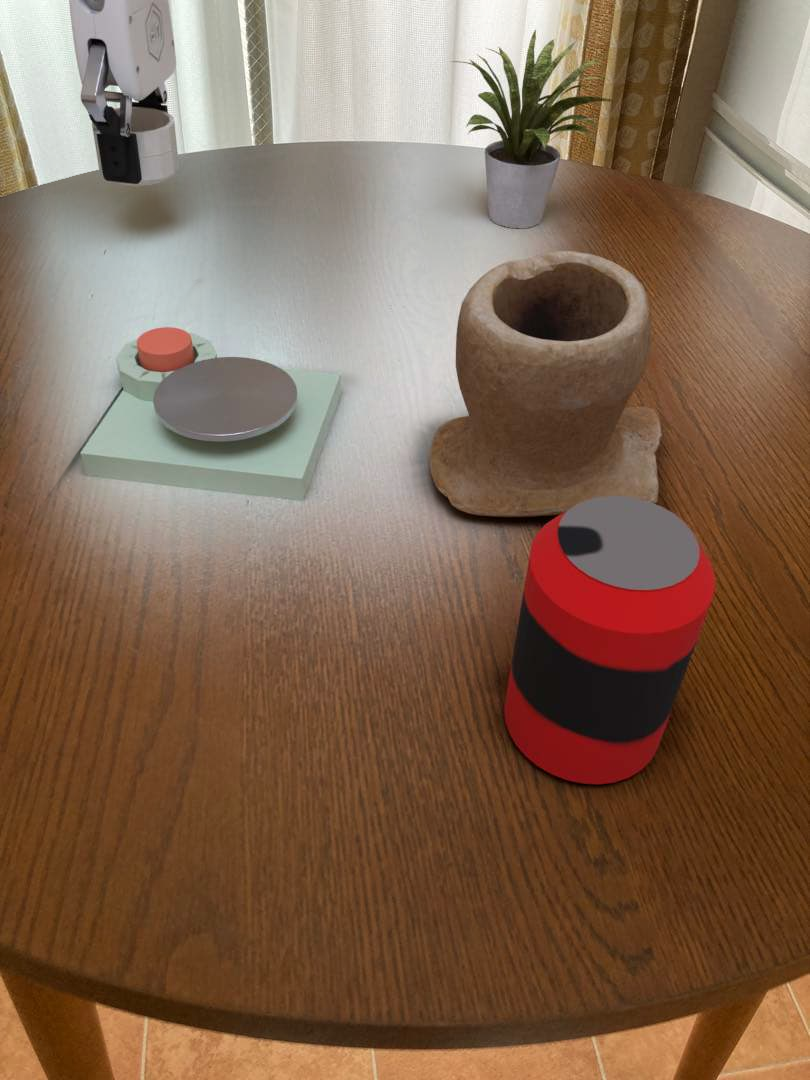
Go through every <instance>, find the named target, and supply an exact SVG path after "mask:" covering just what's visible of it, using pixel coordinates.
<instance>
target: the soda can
mask: <svg viewBox="0 0 810 1080" xmlns="http://www.w3.org/2000/svg"><path fill="white" fill-rule="evenodd" d="M524 582H525V583H524V585H523V586H524V589H523V593H522V599H521V604H520V611H519V617H518V624H517V629H516V635H515V641H514V646H513V653H512V659H511V664H510V670H509V676H508V682H507V687H506V688H507V689H506V695H505V700H504V705H503V711H504V722H505V725H506V728H507V731H508V734H509V735H510V737H511V740H512V741H513V743H514V745H515V747H517V748H518V749H519V751H520V752H521V753H522V754H523V755H524V756H525V758H527V759H528V760H529V761H530V762H532V763H533V764H534V765H535V766H537V767H538V768H540V769H542V770H543V771H545V772H547V773H548V774H550V775H553V776H555V777H557V778H561V779H562V780H566V781H570V782H573V783H579V784H583V785H584V784H585V785H604V784H612V783H613V784H614V783H617V782H620V781H623V780H626V779H629V778H631V777H632V776H635V775H636V774H637V773H639V772H642V770H643V769H644V768H645V767H647V765H648V764H650V762H651V761H652V760H653V758H654V756H655V755H656V753H657V751H658V749H659V746H660V743H661V741H662V739H663V735H664V734H665V733H664V732H665V730H666V727H667V724H668V721H669V719H670V716H671V713H672V710H673V707H674V705H675V702H676V699H677V697H678V694H679V692H680V688H681V686H682V683H683V681H684V678H685V676H686V672H687V669H688V667H689V664H690V661H691V658H692V655H693V653H694V650H695V647H696V645H697V642H698V639H699V637H700V634H701V631H702V629H703V625H704V623H705V620H706V617H707V614H708V612H709V609H710V606H711V603H712V602H713V598H714V594H715V591H716V574H715V572H714V569H713V565H712V562H711V561H710V559H709V557H708V556H707V554H706V553H705V550H704V549H703V547H702V546H701V545H700V544H699V542H698V539H697V537H696V535H695V533H694V532H693V530H692V529H691V528H690V527H689V525H688V524H687V523H686V522H685V521H684V520H683V519H681V518H680V517H679V516H678V515H676V514H675V513H674V512H672V511H670V510H668V509H667V508H666V507H663V506H661V505H659V504H657V503H655V504H654V503H652V502H649V501H645V500H642V499H638V498H632V497H626V496H602V497H596V498H592V499H587V500H585V501H583V502H580V503H578V504H576V505H575V506H573V507H572V508H570V509H569V510H568V511H566V512H565V513H563V514H559V515H556V517H554V518H553V519H551V520H549V521H548V522H546V523H545V524H544V525H543V526H542V528H541V529H539V531H538V532H536V534H535V537H534V538H533V540H532V543H531V546H530V551H529V558H528V563H527V569H526V573H525V581H524Z"/></svg>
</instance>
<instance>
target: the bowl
mask: <svg viewBox="0 0 810 1080" xmlns="http://www.w3.org/2000/svg"><path fill="white" fill-rule="evenodd" d="M114 110H115V111H116V113H117V114H118V116H119V117H120V107H116V108H114ZM91 129H92V133H93V141H94V146H95V153H96V159H97V166H98V171H99V172H100V173H101V174H102V175H103V172H102V166H101V159H100V153H99V147H98V140H97V134H96V133H95V132H94V130H93V122H92V121H91ZM131 133H134V134H136V137H137V145H138V152H139V160H140V168H141V175H142V180H141V181H140V182H139V183H138V184H130V183H122V182H116V183H117V184H121V185H127V186H150V185H156V184H160V183H164V182H166V181H168V180H170V179H171V178H172V177H173V176H174V175H175V173H177V171H178V170H179V169H180V165H179V164H180V163H179V153H178V143H177V133H176V123H175V118H174V116H173V115H172V114H170V113H169V112H168V113H167V112H165V111H161V110H158V109H154V108H145V107H132V116H131Z"/></svg>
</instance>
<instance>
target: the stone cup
mask: <svg viewBox="0 0 810 1080" xmlns="http://www.w3.org/2000/svg"><path fill="white" fill-rule="evenodd" d="M651 348H652V315H651V308H650V302H649V298H648V295H647V292H646V290H645V288H644V285H643V284H642V283H641V282H640V281H639V280H638V279H637V277H636V276H635V275H634V274H632V273H631V272H630V271H629V270H628V269H626V268H624V267H622V266H621V265H619V264H617V262H614V261H612V260H609V259H607V258H604V257H602V256H599V255H595V254H591V253H587V252H579V251H574V250H556V251H549V252H545V253H541V254H538V255H535V256H532V257H528V258H524V259H519V260H508V261H506V262H503V263H501V264H498V265H496V266H495V267H492V268H491V269H490V270H488V271H487V272H486V273H485V274H483V275H481V276H480V278H478V280H477V281H476V282H475V283H473V285H472V286H471V287H470V288H469V289H468V291H467V293H466V295H465V297H464V298H463V300H462V302H461V305H460V309H459V314H458V318H457V324H456V334H455V370H456V376H457V382H458V386H459V390H460V393H461V396H462V399H463V402H464V406H465V408H466V410H467V413H468V415H465V416H459V417H455V418H453V419H450V420H447V421H445V422H444V423H442V424H441V425H440V426H439V427H438V428H437V429H436V430H435V433H434V434H433V436H432V440H431V443H430V447H429V459H428V463H429V469H430V474H431V477H432V480H433V482H434V485H435V487H436V488H437V490H438V491H439V492H440V493H441V494H442V495H444V497H446V498H447V499H448V501H449V503H450V505H451V506H452V507H454V508H455V509H457V510H459V511H461V512H464V513H467V514H470V515H475V516H486V517H497V518H527V517H528V518H529V517H542V516H543V517H544V516H559V515H561V514H563V513H565V512H566V511H568V510H569V509H570V508H572V507H573V506H575V505H576V504H578V503H580V502H583V501H585V500H587V499H592V498H596V497H602V496H626V497H632V498H638V499H642V500H645V501H649V502H652V503H654V504H657V502H658V499H659V489H660V488H659V487H660V485H659V477H658V465H657V456H656V453H657V452H658V449H659V447H660V442H661V438H662V436H663V433H662V426H661V425H662V424H661V422H660V419H659V415H658V413H657V412H656V410H655V409H653V408H652V407H649V406H632V407H629V406H627V405H628V403H629V401H630V399H631V397H632V395H633V393H634V391H635V390H636V388H637V386H638V385H639V383H640V381H641V379H642V376H643V374H644V371H645V370H646V367H647V365H648V361H649V358H650V353H651ZM626 406H627V407H626Z"/></svg>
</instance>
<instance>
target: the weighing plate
mask: <svg viewBox="0 0 810 1080" xmlns="http://www.w3.org/2000/svg"><path fill="white" fill-rule="evenodd" d="M281 368H282V367H279V366H277V365H275V364H273V363H270V362H267V361H264V360H262V359H261V360H260V359H257V358H252V357H251V358H250V357H242V356H221V357H217V358H212V359H206V360H201V361H198V362H194V363H191V364H189V365H186V366H184V367H181V368H179V369H177V370H176V371H174V372H172V373H171V374H169V375H168V376H167V377H165V378H164V379H163V380H162V381H161V383H160V384H159V385H158V386H157V388H156V390H155V393H154V397H153V404H154V409H155V413H156V415H157V417H158V419H159V420H160V421H161V422H162V423H163V424H164V425H165V426H166V427H167V428H169V429H170V430H172V431H173V432H176V433H178V434H180V435H183V436H185V437H189V438H193V439H197V440H204V441H235V440H242V439H247V438H251V437H255V436H258V435H261V434H263V433H266V432H268V431H270V430H272V429H274V428H276V427H278V426H279V425H280V424H282V423H283V422H284V421H285V420H287V419H288V418H289V417H290V415H291V414H292V413H293V411H294V409H295V407H296V404H297V388H296V385H295V382H294V381H293V379H292V378H291V377H290V376H289V375H288V374H287V373H286V372H285V371H284V370H282V369H281Z"/></svg>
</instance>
